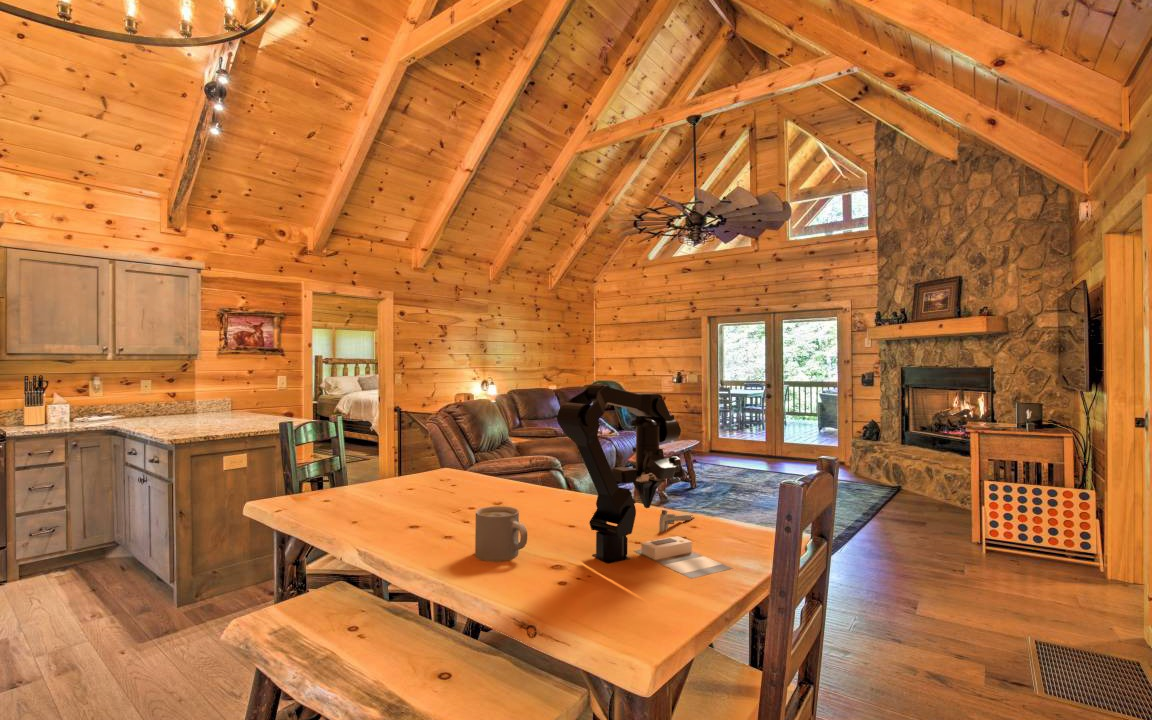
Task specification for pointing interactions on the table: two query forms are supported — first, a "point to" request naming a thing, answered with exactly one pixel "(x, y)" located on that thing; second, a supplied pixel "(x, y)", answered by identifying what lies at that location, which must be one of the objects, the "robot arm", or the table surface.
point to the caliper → (671, 519)
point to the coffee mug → (498, 533)
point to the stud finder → (666, 547)
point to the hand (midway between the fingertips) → (646, 507)
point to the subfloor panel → (691, 564)
